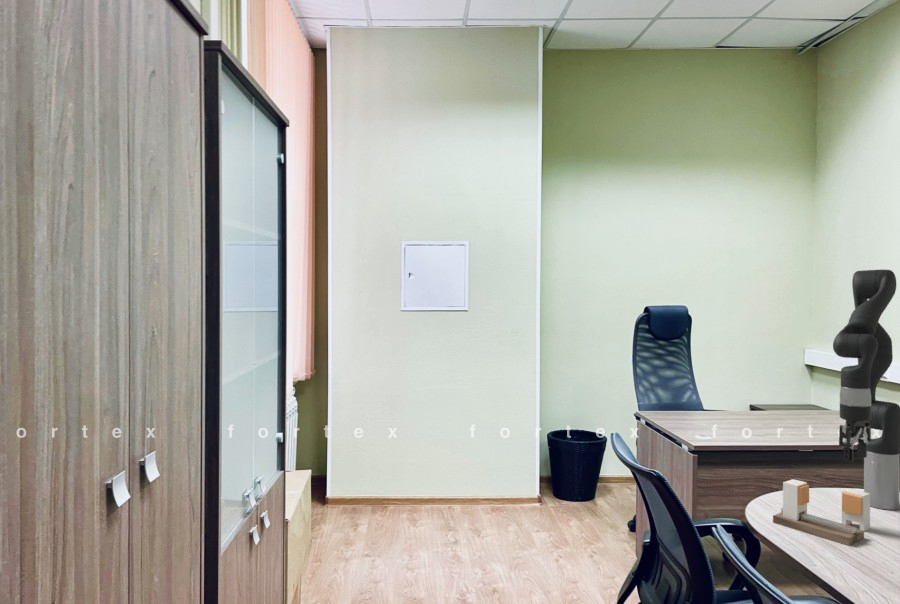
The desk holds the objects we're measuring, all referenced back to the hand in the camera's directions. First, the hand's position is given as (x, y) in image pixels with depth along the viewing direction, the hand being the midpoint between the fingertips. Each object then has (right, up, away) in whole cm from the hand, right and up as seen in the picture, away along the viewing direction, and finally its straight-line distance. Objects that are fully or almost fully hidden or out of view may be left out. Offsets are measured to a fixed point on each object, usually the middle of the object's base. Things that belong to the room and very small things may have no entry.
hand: (855, 459), depth 171 cm
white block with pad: (0, -20, 0) cm, 20 cm away
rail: (-12, -20, -2) cm, 23 cm away
